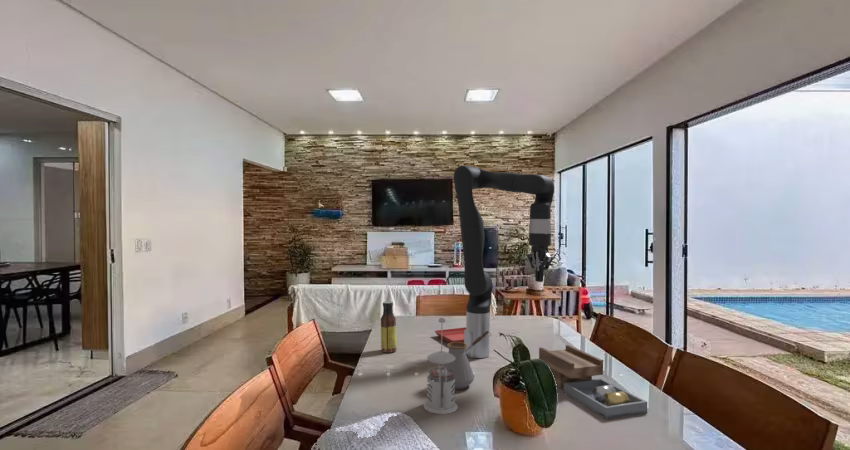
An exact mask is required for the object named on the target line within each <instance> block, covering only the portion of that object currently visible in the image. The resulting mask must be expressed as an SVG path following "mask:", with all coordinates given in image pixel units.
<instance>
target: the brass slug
mask: <svg viewBox="0 0 850 450" xmlns="http://www.w3.org/2000/svg"><path fill="white" fill-rule="evenodd" d="M604 401H605V404H606V405H607V406H613V405H619V404H626V403H629V398H628V396H627V394H626V393H625V392H623V391H621V392H614V393H607V394H605V396H604Z"/></svg>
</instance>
